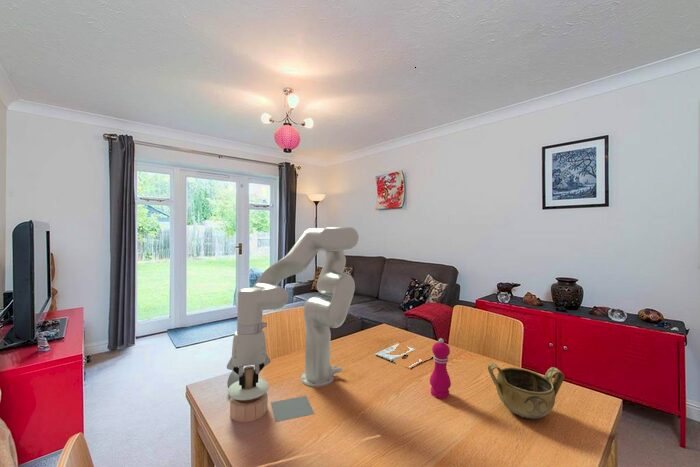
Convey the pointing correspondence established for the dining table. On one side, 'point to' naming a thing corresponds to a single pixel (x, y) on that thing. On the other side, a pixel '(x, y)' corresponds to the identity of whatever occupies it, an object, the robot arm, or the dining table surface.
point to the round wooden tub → (248, 408)
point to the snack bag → (393, 357)
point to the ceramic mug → (233, 378)
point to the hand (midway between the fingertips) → (248, 385)
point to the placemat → (291, 408)
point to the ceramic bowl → (527, 390)
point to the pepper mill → (440, 370)
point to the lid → (248, 387)
